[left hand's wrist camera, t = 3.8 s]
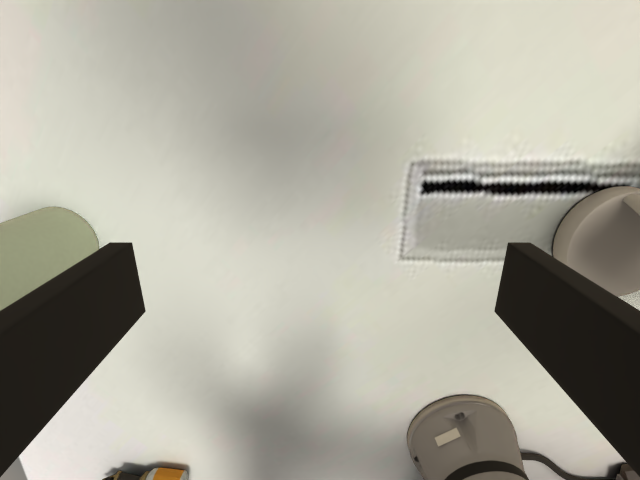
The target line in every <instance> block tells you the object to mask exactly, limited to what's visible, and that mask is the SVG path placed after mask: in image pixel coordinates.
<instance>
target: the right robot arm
mask: <svg viewBox="0 0 640 480" xmlns="http://www.w3.org/2000/svg"><path fill="white" fill-rule="evenodd" d="M407 442H408V447H409V451H410V455H411V457H412V460H413V462H414V464H415V466H416V467H417V469H418V470H419V472H420V473H421V475H422V477H423V478H424V480H529V479H528V477H527V475H526V474H525V471H524V468H523V463H522V460H536V461H539V462H542V463H544V464H545V465H547V466H548V467H550V468H551V469H552V470H553V471H554V472H555V473H557V474H558V475H559V476H561V477H562V478H564V479H566V480H616V479H585V478H579V477H575V476H572V475H569V474H567V473H565V472H563V471H562V470H561V469H559V468H558V467H557V466H556V465H555V464H554V463H552V462H551V461H550V460H548V459H547V458H545V457H543V456H541V455H538V454H533V453H520V450H519V446H518V442H517V436H516V432H515V430H514V427H513V425H512V423H511V421H510V419H509V418H508V416H507V415H506V413H505V412H504V410H503V409H502V408H501V407H500V406H498V405H497V404H496V403H494V402H492V401H490V400H488V399H485V398H482V397H478V396H469V395H463V396H454V397H449V398H445V399H442V400H439V401H437V402H435V403H433V404H431V405H429V406H428V407H426V408H425V409H424V410H422V411H421V412H420V413H419V414H418V415H417V416H416V417H415V419H414V420H413V422H412V423H411V425H410V428H409V430H408V435H407Z"/></svg>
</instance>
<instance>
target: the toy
mask: <svg viewBox="0 0 640 480" xmlns="http://www.w3.org/2000/svg"><path fill="white" fill-rule="evenodd" d="M616 480H640V477H639V476H638V475H637V473H636V472H635V471H634V470H633V469H632V468H631V467H630V465H629V464H622V466H621V470H620V474H617V477H616Z"/></svg>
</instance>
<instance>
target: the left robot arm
mask: <svg viewBox="0 0 640 480" xmlns="http://www.w3.org/2000/svg"><path fill="white" fill-rule="evenodd" d="M144 312H145V306H144V301H143V296H142V291H141V286H140V281H139V276H138V271H137V266H136V261H135V256H134V251H133V246H132V243H109V244H107V245H105V246H104V247H102V248H101V249H99V250H97V251H96V252H94V253H93V254H91V255H89V256H88V257H86V258H84V259H83V260H81V261H80V262H78V263H76V264H75V265H73V266H72V267H70V268H68V269H67V270H65V271H64V272H62V273H60V274H59V275H57V276H56V277H54V278H52V279H51V280H49V281H47V282H46V283H44V284H43V285H41V286H39V287H38V288H36V289H35V290H33V291H31V292H30V293H28V294H27V295H25V296H23V297H22V298H20V299H19V300H17V301H15V302H14V303H12V304H10V305H9V306H7V307H6V308H4V309H2V310H1V311H0V477H1V476H2V475H3V473H4V472H5V471H6V470H7V469H8V468H9V467H10V465H11V464H12V463H13V462H14V461H15V460H16V459H17V457H18V456H19V455H20V454H21V453H22V452H23V451H24V449H25V448H26V447H27V446H28V445H29V444H30V443H31V441H32V440H33V439H34V438H35V437H36V436H37V435H38V433H39V432H40V431H41V430H42V429H43V428H44V427H45V425H46V424H47V423H48V422H49V421H50V420H51V419H52V417H53V416H54V415H55V414H56V413H57V412H58V411H59V409H60V408H61V407H62V406H63V405H64V404H65V403H66V401H67V400H68V399H69V398H70V397H71V396H72V395H73V393H74V392H75V391H76V390H77V389H78V388H79V387H80V385H81V384H82V383H83V382H84V381H85V380H86V379H87V378H88V376H89V375H90V374H91V373H92V372H93V371H94V370H95V368H96V367H97V366H98V365H99V364H100V363H101V362H102V360H103V359H104V358H105V357H106V356H107V355H108V354H109V352H110V351H111V350H112V349H113V348H114V347H115V346H116V344H117V343H118V342H119V341H120V340H121V339H122V338H123V336H124V335H125V334H126V333H127V332H128V331H129V330H130V328H131V327H132V326H133V325H134V324H135V323H136V322H137V320H138V319H139V318H140V317H141V316H142V315H143V314H144ZM495 312H496V314H497V315H498V316H499V317H500V318H501V319H502V320H503V322H504V323H505V324H506V325H507V326H508V327H509V328H510V330H511V331H512V332H513V333H514V334H515V335H516V336H517V338H518V339H519V340H520V341H521V342H522V343H523V344H524V346H525V347H526V348H527V349H528V350H529V351H530V352H531V354H532V355H533V356H534V357H535V358H536V359H537V360H538V362H539V363H540V364H541V365H542V366H543V367H544V368H545V370H546V371H547V372H548V373H549V374H550V375H551V376H552V378H553V379H554V380H555V381H556V382H557V383H558V384H559V385H560V387H561V388H562V389H563V390H564V391H565V392H566V393H567V395H568V396H569V397H570V398H571V399H572V400H573V401H574V403H575V404H576V405H577V406H578V407H579V408H580V409H581V411H582V412H583V413H584V414H585V415H586V416H587V417H588V419H589V420H590V421H591V422H592V423H593V424H594V425H595V427H596V428H597V429H598V430H599V431H600V432H601V433H602V435H603V436H604V437H605V438H606V439H607V440H608V441H609V443H610V444H611V445H612V446H613V447H614V448H615V449H616V451H617V452H618V453H619V454H620V455H621V456H622V457H623V459H624V460H625V461H626V462H627V463H628V464H629V465H630V467H631V468H632V469H633V470H634V471H635V472H636V473H637V475H638V476H639V477H640V311H639V310H638V309H636V308H634V307H633V306H631V305H630V304H628V303H626V302H625V301H623V300H621V299H620V298H618V297H617V296H615V295H613V294H612V293H610V292H609V291H607V290H605V289H604V288H602V287H601V286H599V285H597V284H596V283H594V282H593V281H591V280H589V279H588V278H586V277H584V276H583V275H581V274H580V273H578V272H576V271H575V270H573V269H572V268H570V267H568V266H567V265H565V264H564V263H562V262H560V261H559V260H557V259H556V258H554V257H552V256H551V255H549V254H547V253H546V252H544V251H543V250H541V249H539V248H538V247H536V246H535V245H533V244H531V243H508V246H507V251H506V256H505V261H504V266H503V271H502V276H501V281H500V286H499V291H498V296H497V301H496V306H495Z"/></svg>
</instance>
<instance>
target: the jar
mask: <svg viewBox="0 0 640 480" xmlns="http://www.w3.org/2000/svg"><path fill="white" fill-rule="evenodd" d="M97 250H99V245H98V240H97V237H96V235H95V233H94V231H93V229H92V228H91V226H90V225H89V224H88V223H87V222H86V221H85V220H84V219H83V218H82V217H80V216H79V215H78V214H76V213H74V212H72V211H70V210H67V209H64V208H59V207H47V208H42V209H39V210H37V211H34V212H31V213H28V214H25V215H22V216H19V217H16V218H14V219H11V220H8V221H5V222H2V223H0V311H1V310H2V309H4V308H6V307H7V306H9V305H10V304H12V303H14V302H15V301H17V300H19V299H20V298H22V297H23V296H25V295H27V294H28V293H30V292H31V291H33V290H35V289H36V288H38V287H39V286H41V285H43V284H44V283H46V282H47V281H49V280H51V279H52V278H54V277H56V276H57V275H59V274H60V273H62V272H64V271H65V270H67V269H68V268H70V267H72V266H73V265H75V264H76V263H78V262H80V261H81V260H83V259H84V258H86V257H88V256H89V255H91V254H93V253H94V252H96V251H97Z"/></svg>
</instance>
